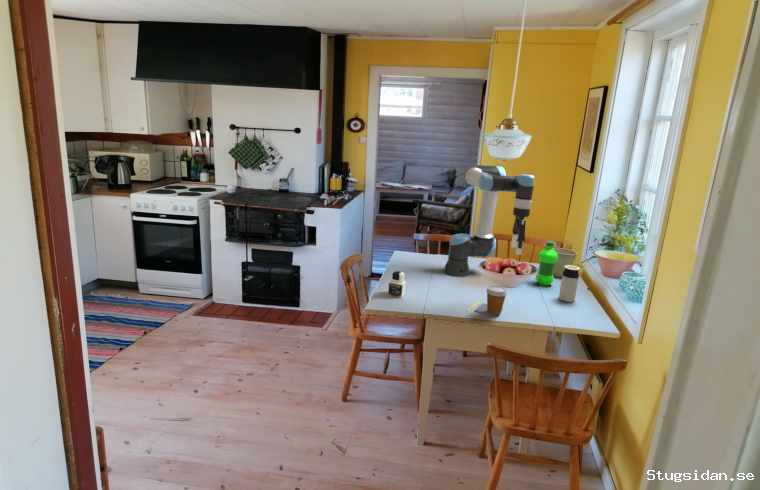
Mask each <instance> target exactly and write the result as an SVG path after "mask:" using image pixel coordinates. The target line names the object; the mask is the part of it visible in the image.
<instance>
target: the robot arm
mask: <svg viewBox="0 0 760 490" xmlns="http://www.w3.org/2000/svg"><path fill="white" fill-rule="evenodd" d="M463 179H464V181H465V183H466V184H468V185H470V186H477V187H478V188H479V189H480V191H481V192H482V194H481V202H480V208H479V213H478V223H477V227H476V228H477V229H476V231H475V232H474V233H473V236H472V235H470V234H468V233H456V234H453V235H451V236H450V239H449V248H448V256H447V257H448V258H447V261H446V263H445V265H444V269H443V272H444V273H445V274H447V275H450V276H453V277H467V276H469V275H470V273H471V272H470V271H471V270H470V266H469V257H472V258H473V257H475V258H476V257H478V258H490V257H492V256H494V253H495V252H496V248H497V240H496V238H495V236H494V234H493V233H492V232H493V227H494V220H495V214H496V208H497V201H498V194H499V193H500V192H510V193H515V195H514V196H515V197H514V203H513V206H514V207H513V211H512V214H513V216H515V218H514V223H513V227H512V230H511V231H512V236H511V244H510V245H511V246H510V248H515V253H514V254H515V255H517V256H518V255H520V256H522V253H523V248H524V247H523V246H524V242H525V240H526V239H525V236H526V223H527V220H525V218H529V217H530V214H531V213H530V212H531V209H530V208H531V205H532V204H533V201H532V198H533V193H534V187H535V176H534V175H532V174H525V173H524V174H523V173H522V174H518V175H507V173H506V170H505V168H504V167H502V166H497V165H480V164H477V165H471V166H469V167H468V168H466V170H465V171H464V173H463Z"/></svg>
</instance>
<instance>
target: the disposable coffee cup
mask: <svg viewBox="0 0 760 490" xmlns="http://www.w3.org/2000/svg"><path fill="white" fill-rule="evenodd" d="M507 294H508V291H507V289H506V288H505V287H502V286H499V285H489V286H487V288H486V295H487V296H486V302H487V303H486V304H487V312H488V313H489V314H492V315H496V316H499V315H501V313H502V311H503V309H502V308H503V307H504V303H505V299H506V296H507Z"/></svg>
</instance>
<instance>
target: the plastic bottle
mask: <svg viewBox="0 0 760 490" xmlns="http://www.w3.org/2000/svg"><path fill="white" fill-rule="evenodd" d="M545 243H546V244H545V246H546V248H544V249H542V250H541V251H539V253H538V259H539V266H538V272H537V273H536V276H535V280H536V282H537V283H538V284H539V285H540V286H544V287H548V286H549V285H551V284H552V283H553V282H554V280H555V276H554V275H553V271H554V264H555V262H556V261H557V260H558V254H557V253H556V252H555V251H554V250H553V248H554V246H555V242H553V241H546V242H545Z"/></svg>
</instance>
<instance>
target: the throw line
mask: <svg viewBox="0 0 760 490" xmlns="http://www.w3.org/2000/svg"><path fill="white" fill-rule="evenodd" d="M480 303H481V301H477V302H476V303H474V304H473V305H472V306H471V307H469V308H468V309H467V310H466V311H465V312H467V313H470V312H471V311H472V310H474V309H475V308H476V307H478V305H479V304H480Z"/></svg>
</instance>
